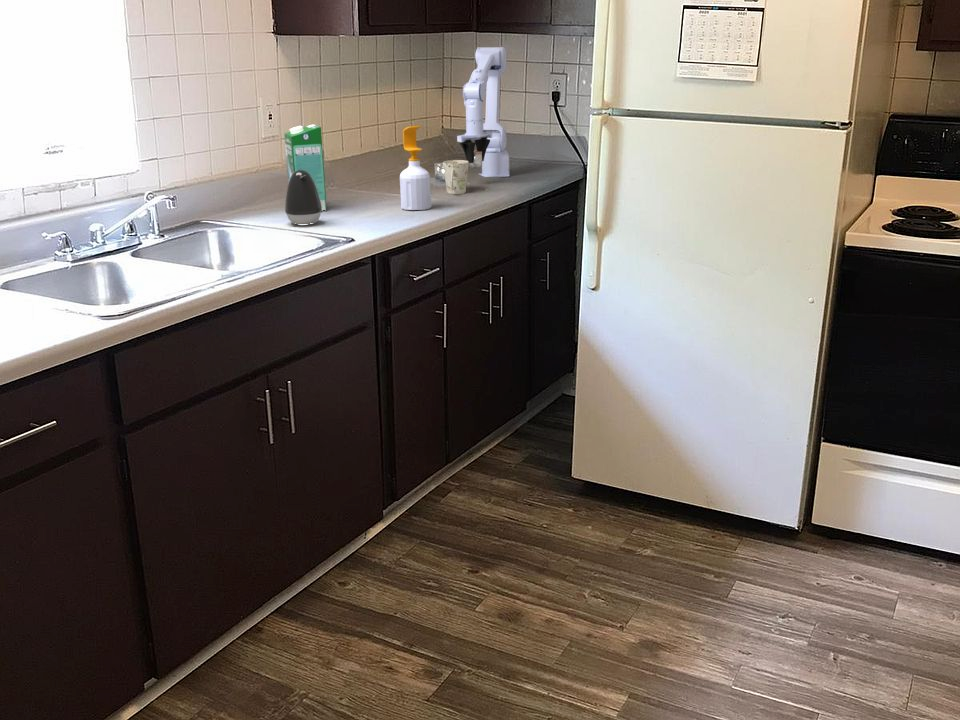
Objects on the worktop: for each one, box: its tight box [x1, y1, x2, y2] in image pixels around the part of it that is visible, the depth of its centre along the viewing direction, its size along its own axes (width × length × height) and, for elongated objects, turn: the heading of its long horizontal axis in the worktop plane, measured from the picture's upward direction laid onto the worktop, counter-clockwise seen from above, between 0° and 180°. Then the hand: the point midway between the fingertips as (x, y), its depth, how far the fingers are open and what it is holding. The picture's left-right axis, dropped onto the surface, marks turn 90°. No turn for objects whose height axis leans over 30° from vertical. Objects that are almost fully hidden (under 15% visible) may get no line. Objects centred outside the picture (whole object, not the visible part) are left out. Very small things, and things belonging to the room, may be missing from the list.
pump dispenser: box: [284, 170, 322, 224], centre depth 274 cm, size 10×10×15 cm
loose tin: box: [468, 149, 482, 169], centre depth 326 cm, size 5×5×5 cm
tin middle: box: [439, 165, 446, 182], centre depth 337 cm, size 5×5×5 cm
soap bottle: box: [399, 125, 432, 211], centre depth 291 cm, size 9×9×25 cm
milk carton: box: [284, 123, 328, 211], centre depth 291 cm, size 9×9×25 cm
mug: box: [442, 159, 469, 195], centre depth 316 cm, size 8×13×10 cm, turn 174°
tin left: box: [433, 162, 443, 179], centre depth 343 cm, size 5×5×5 cm
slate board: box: [430, 177, 471, 187], centre depth 338 cm, size 12×18×1 cm, turn 18°
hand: (475, 161), depth 326 cm, fingers closed on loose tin, 4 cm apart
